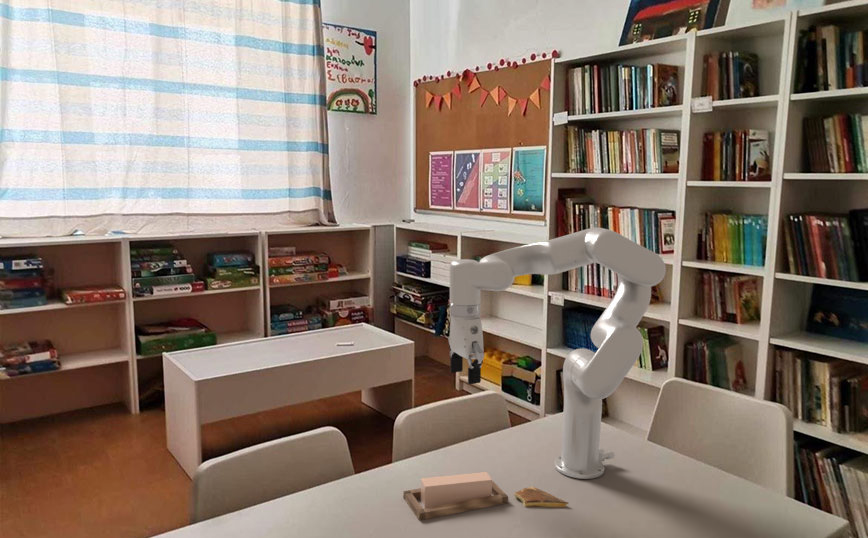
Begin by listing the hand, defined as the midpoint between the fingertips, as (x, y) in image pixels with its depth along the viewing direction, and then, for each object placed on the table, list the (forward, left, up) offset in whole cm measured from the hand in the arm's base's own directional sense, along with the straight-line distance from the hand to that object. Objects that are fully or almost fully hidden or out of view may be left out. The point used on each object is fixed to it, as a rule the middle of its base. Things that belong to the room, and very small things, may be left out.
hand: (465, 377), depth 159 cm
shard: (-12, +18, -26) cm, 34 cm away
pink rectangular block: (+7, +12, -26) cm, 29 cm away
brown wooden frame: (+7, +12, -25) cm, 29 cm away
